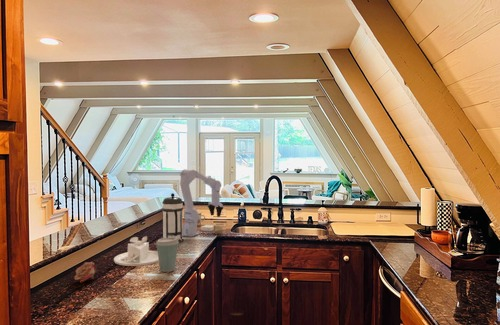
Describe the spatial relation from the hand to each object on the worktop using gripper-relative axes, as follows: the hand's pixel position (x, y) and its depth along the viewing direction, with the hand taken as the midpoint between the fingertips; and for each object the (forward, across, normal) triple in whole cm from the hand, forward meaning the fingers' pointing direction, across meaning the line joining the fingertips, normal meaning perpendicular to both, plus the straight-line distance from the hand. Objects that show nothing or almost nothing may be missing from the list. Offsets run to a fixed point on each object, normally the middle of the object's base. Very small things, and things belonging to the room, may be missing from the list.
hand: (215, 215), depth 267 cm
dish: (+11, -30, +73) cm, 79 cm away
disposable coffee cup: (+10, -57, +71) cm, 91 cm away
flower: (+11, -46, +105) cm, 115 cm away
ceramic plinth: (+10, +3, +4) cm, 11 cm away
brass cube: (+10, -9, +5) cm, 14 cm away
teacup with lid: (+10, +24, -1) cm, 26 cm away
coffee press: (+10, -10, +40) cm, 42 cm away
